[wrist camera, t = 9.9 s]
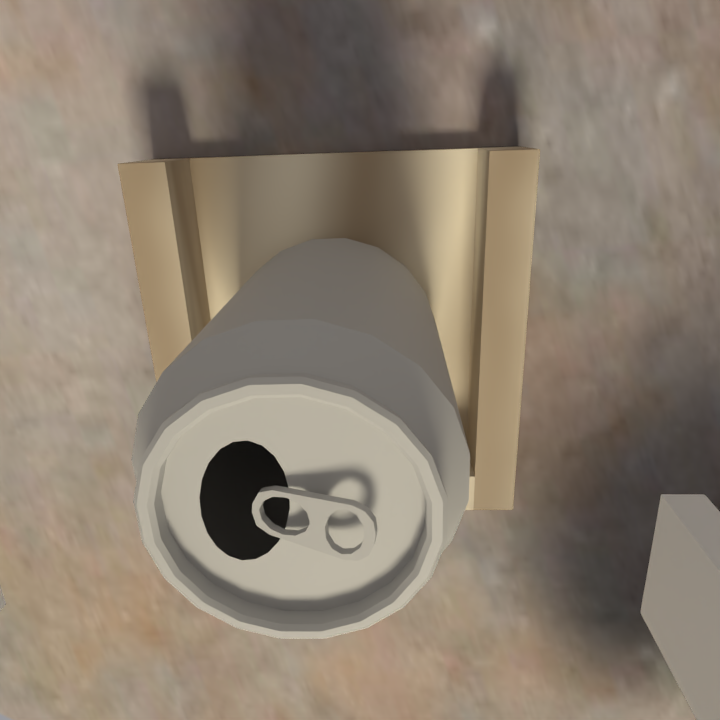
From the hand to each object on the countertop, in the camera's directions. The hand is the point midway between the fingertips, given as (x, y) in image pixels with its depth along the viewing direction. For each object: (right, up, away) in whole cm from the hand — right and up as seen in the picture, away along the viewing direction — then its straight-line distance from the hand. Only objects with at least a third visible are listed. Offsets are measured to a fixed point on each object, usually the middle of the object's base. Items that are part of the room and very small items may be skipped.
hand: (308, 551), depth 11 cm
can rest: (0, +5, +12) cm, 13 cm away
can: (0, +5, +11) cm, 12 cm away
